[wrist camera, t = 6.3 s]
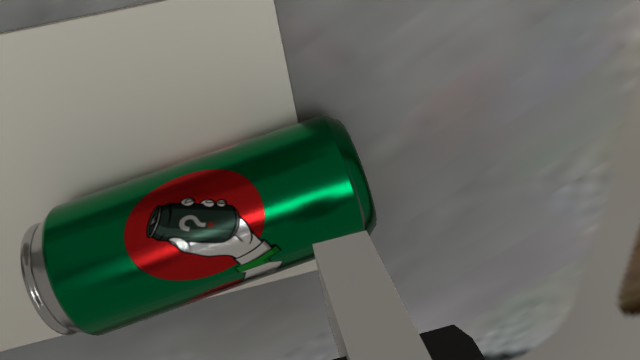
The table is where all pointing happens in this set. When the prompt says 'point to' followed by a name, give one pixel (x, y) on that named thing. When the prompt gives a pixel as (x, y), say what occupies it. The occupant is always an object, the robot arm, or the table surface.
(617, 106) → the table surface
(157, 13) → the folded white napkin
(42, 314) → the soda can
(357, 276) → the robot arm
